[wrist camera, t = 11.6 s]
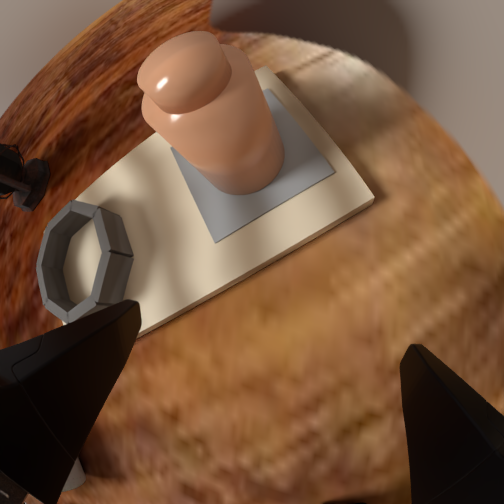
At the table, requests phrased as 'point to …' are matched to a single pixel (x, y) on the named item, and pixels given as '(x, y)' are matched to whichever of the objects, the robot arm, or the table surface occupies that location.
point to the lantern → (22, 178)
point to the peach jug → (212, 111)
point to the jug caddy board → (192, 222)
